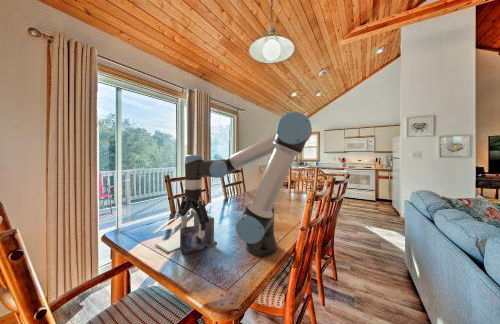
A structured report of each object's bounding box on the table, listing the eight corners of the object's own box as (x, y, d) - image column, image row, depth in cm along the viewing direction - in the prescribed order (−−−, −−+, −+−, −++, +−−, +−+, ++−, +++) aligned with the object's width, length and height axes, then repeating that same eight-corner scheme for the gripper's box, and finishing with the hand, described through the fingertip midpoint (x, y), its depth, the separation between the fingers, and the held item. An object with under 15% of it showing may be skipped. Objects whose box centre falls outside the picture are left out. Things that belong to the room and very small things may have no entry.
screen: (217, 243, 99) (217, 216, 98) (208, 248, 95) (208, 219, 94) (199, 235, 108) (199, 210, 107) (190, 239, 103) (190, 213, 102)
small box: (182, 255, 87) (181, 233, 87) (179, 249, 93) (179, 227, 93) (205, 250, 93) (205, 228, 92) (201, 244, 98) (201, 224, 98)
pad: (197, 240, 102) (197, 238, 102) (167, 253, 89) (167, 251, 89) (184, 234, 109) (184, 233, 109) (155, 245, 96) (155, 243, 96)
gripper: (217, 191, 86) (216, 237, 88) (184, 183, 101) (183, 223, 103) (204, 193, 80) (203, 243, 82) (171, 185, 95) (170, 227, 97)
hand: (192, 232), depth 92 cm, fingers open, 13 cm apart
